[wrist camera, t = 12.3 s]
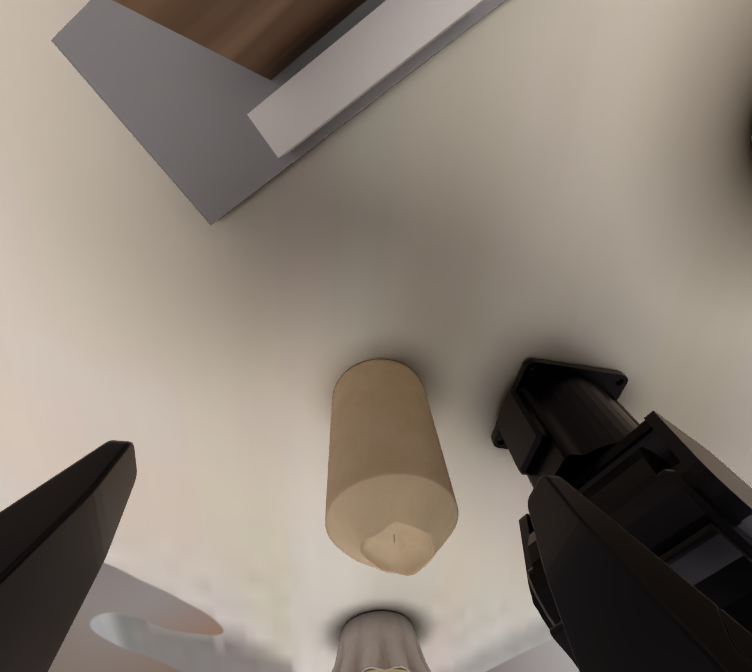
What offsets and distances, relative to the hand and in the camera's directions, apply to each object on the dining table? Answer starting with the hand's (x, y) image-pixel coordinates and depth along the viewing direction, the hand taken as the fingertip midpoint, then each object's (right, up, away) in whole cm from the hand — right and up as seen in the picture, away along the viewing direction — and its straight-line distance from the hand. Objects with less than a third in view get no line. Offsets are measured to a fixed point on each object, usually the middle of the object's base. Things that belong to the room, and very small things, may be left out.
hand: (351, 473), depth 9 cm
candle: (+1, -1, +15) cm, 16 cm away
